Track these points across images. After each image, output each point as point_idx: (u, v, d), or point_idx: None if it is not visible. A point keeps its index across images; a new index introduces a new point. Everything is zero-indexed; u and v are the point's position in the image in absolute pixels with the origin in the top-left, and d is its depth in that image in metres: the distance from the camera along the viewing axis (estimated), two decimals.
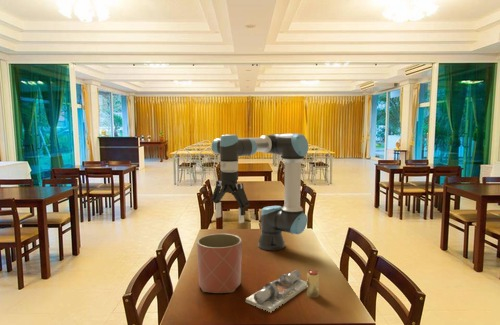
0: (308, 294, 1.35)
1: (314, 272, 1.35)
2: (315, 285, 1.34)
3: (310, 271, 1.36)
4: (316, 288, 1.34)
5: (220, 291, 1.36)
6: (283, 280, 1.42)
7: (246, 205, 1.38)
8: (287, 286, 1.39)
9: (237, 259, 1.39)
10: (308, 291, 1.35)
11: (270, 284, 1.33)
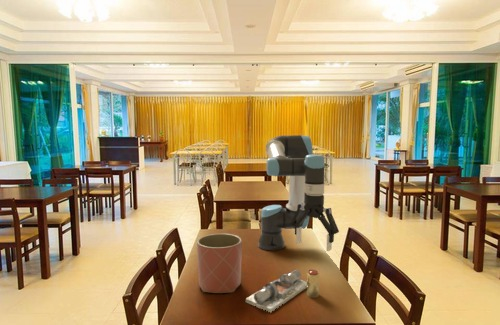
0: (308, 294, 1.35)
1: (314, 272, 1.35)
2: (315, 285, 1.34)
3: (310, 271, 1.36)
4: (316, 288, 1.34)
5: (220, 291, 1.36)
6: (283, 280, 1.42)
7: (336, 232, 1.27)
8: (287, 286, 1.39)
9: (237, 259, 1.39)
10: (308, 291, 1.35)
11: (270, 284, 1.33)
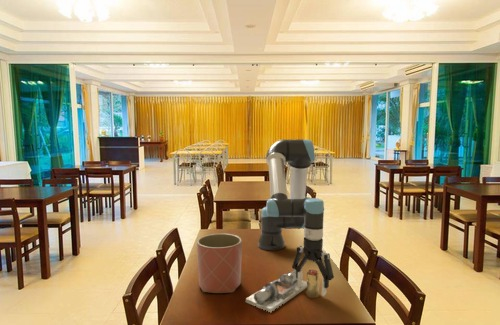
0: (308, 294, 1.35)
1: (314, 272, 1.35)
2: (315, 285, 1.34)
3: (310, 271, 1.36)
4: (316, 288, 1.34)
5: (220, 291, 1.36)
6: (283, 280, 1.42)
7: (331, 278, 1.30)
8: (287, 286, 1.39)
9: (237, 259, 1.39)
10: (308, 291, 1.35)
11: (270, 284, 1.33)
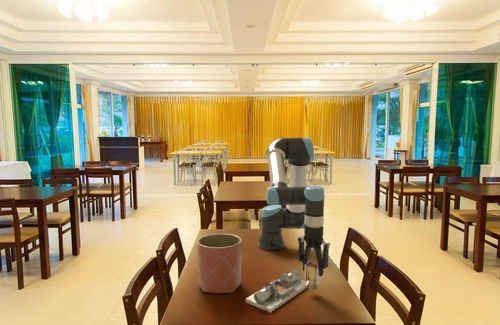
0: (308, 286, 1.36)
1: (314, 264, 1.35)
2: (315, 277, 1.34)
3: (310, 263, 1.36)
4: None
5: (220, 291, 1.36)
6: (283, 280, 1.42)
7: (326, 266, 1.32)
8: (287, 286, 1.39)
9: (237, 259, 1.39)
10: (308, 283, 1.36)
11: (270, 284, 1.33)
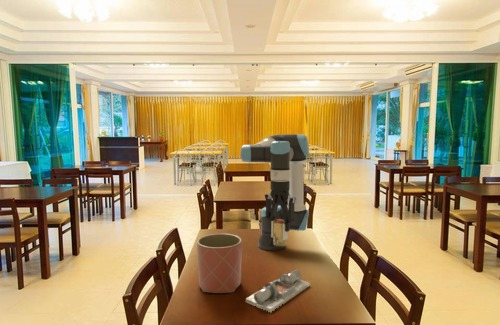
0: (274, 243, 1.34)
1: (280, 220, 1.34)
2: (281, 233, 1.33)
3: (277, 220, 1.35)
4: (282, 236, 1.33)
5: (220, 291, 1.36)
6: (283, 280, 1.42)
7: (291, 221, 1.30)
8: (287, 286, 1.39)
9: (237, 259, 1.39)
10: (274, 240, 1.34)
11: (270, 284, 1.33)
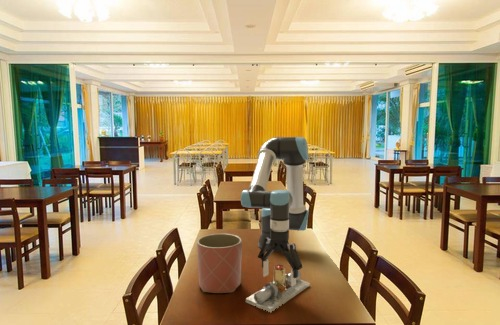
0: None
1: (280, 267, 1.36)
2: (280, 280, 1.35)
3: (276, 266, 1.37)
4: (282, 283, 1.35)
5: (220, 291, 1.36)
6: None
7: (300, 268, 1.30)
8: (287, 286, 1.39)
9: (237, 259, 1.39)
10: None
11: (270, 284, 1.33)
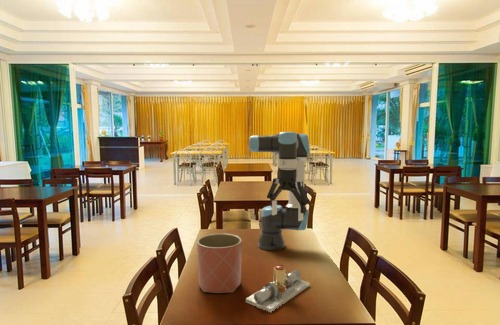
0: None
1: (280, 267, 1.36)
2: (281, 280, 1.35)
3: (277, 266, 1.37)
4: (282, 283, 1.35)
5: (220, 291, 1.36)
6: None
7: (307, 203, 1.37)
8: (287, 286, 1.39)
9: (237, 259, 1.39)
10: None
11: (270, 284, 1.33)
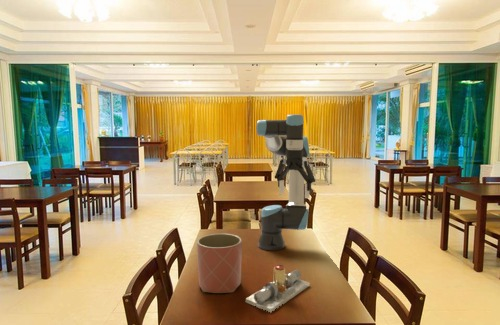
0: None
1: (280, 267, 1.36)
2: (280, 280, 1.35)
3: (276, 266, 1.37)
4: (282, 283, 1.35)
5: (220, 291, 1.36)
6: None
7: (313, 181, 1.46)
8: (287, 286, 1.39)
9: (237, 259, 1.39)
10: None
11: (270, 284, 1.33)
